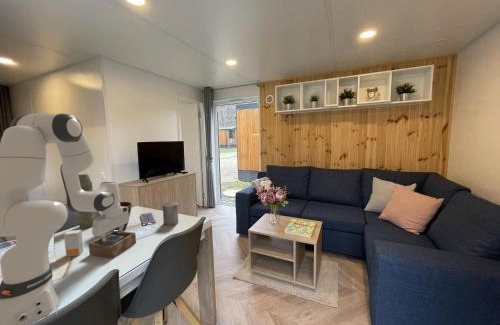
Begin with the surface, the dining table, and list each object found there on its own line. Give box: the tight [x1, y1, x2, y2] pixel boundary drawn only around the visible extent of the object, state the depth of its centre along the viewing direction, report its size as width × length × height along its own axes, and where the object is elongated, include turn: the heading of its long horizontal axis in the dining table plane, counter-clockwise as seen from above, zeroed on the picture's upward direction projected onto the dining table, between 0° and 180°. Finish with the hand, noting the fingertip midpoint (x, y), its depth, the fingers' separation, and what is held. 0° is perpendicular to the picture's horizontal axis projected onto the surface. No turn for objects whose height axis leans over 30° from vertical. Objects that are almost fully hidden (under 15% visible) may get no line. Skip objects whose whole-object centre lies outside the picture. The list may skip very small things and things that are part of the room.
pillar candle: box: [162, 201, 179, 227], centre depth 151 cm, size 10×10×15 cm
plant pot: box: [112, 201, 132, 231], centre depth 142 cm, size 15×15×16 cm
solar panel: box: [140, 212, 157, 225], centre depth 159 cm, size 8×23×2 cm, turn 31°
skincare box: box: [63, 229, 84, 257], centre depth 112 cm, size 6×4×12 cm
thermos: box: [77, 173, 96, 230], centre depth 145 cm, size 9×12×35 cm
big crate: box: [88, 230, 137, 259], centre depth 117 cm, size 16×14×6 cm
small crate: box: [102, 235, 124, 246], centre depth 117 cm, size 6×8×5 cm
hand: (112, 237), depth 116 cm, fingers open, 8 cm apart
